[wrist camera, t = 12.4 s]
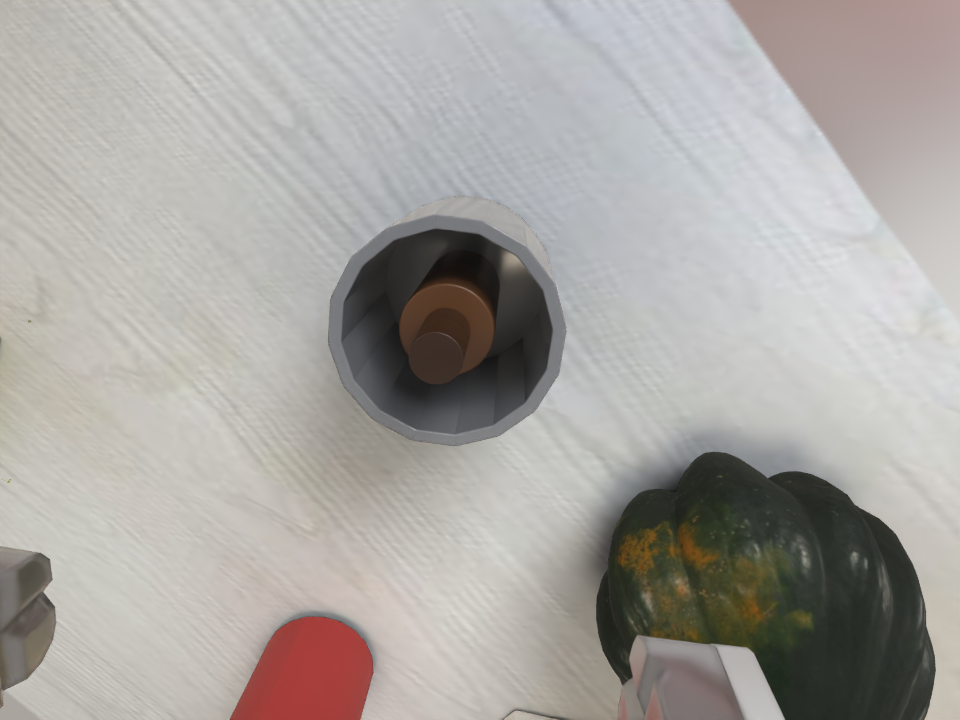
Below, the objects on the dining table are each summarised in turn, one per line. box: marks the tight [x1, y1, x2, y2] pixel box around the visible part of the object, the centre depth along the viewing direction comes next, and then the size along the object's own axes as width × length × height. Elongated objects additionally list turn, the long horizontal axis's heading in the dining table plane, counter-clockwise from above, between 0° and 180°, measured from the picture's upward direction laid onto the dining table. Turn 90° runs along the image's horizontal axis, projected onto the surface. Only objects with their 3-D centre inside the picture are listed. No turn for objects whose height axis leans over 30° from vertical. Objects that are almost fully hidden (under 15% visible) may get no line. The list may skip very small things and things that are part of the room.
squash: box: [596, 452, 936, 720], centre depth 32 cm, size 14×15×15 cm
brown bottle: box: [399, 250, 500, 385], centre depth 28 cm, size 4×4×12 cm
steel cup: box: [328, 196, 566, 446], centre depth 30 cm, size 9×9×10 cm
